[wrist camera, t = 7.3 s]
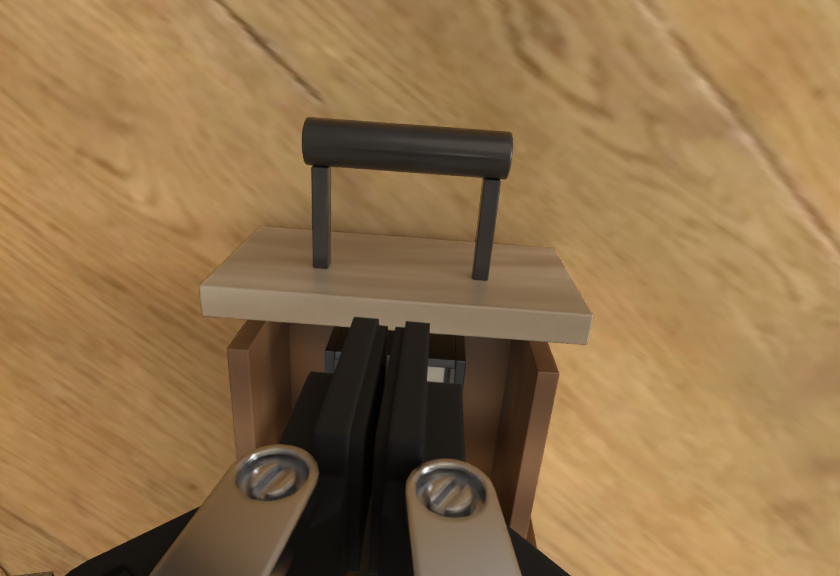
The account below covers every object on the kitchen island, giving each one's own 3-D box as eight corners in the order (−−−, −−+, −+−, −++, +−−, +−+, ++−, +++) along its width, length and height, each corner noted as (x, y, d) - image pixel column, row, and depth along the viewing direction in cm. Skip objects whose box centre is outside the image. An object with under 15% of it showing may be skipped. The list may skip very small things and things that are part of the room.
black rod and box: (340, 308, 25) (236, 581, 12) (462, 317, 25) (487, 601, 12) (339, 431, 28) (254, 758, 15) (448, 439, 28) (457, 773, 15)
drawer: (252, 99, 22) (179, 118, 16) (577, 123, 22) (630, 152, 16) (274, 500, 31) (233, 613, 25) (506, 518, 31) (523, 635, 25)
